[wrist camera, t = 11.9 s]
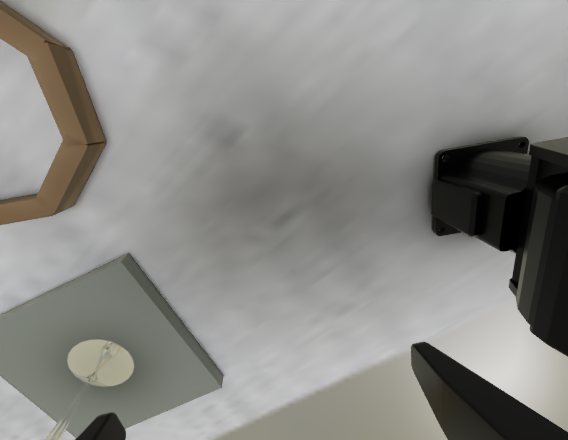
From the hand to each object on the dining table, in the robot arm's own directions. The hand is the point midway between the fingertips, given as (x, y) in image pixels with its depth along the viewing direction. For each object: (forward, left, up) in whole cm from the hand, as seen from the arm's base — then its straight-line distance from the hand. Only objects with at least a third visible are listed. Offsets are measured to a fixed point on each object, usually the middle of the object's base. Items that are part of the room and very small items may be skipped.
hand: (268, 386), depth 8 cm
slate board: (+15, +9, -13) cm, 22 cm away
